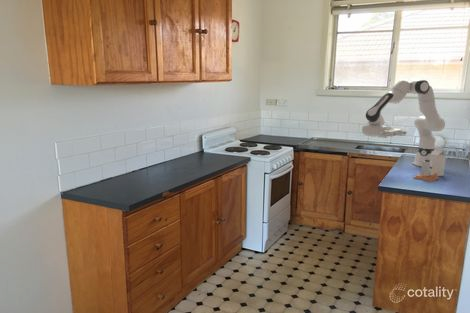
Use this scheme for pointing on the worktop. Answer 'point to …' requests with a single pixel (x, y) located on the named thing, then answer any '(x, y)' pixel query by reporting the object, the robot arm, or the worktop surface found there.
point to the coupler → (432, 178)
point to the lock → (426, 168)
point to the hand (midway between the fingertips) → (403, 133)
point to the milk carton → (438, 162)
